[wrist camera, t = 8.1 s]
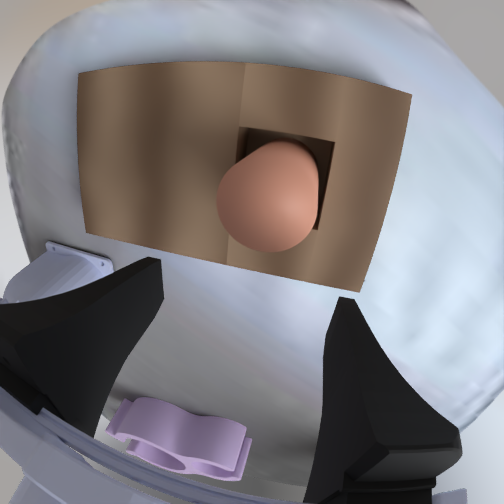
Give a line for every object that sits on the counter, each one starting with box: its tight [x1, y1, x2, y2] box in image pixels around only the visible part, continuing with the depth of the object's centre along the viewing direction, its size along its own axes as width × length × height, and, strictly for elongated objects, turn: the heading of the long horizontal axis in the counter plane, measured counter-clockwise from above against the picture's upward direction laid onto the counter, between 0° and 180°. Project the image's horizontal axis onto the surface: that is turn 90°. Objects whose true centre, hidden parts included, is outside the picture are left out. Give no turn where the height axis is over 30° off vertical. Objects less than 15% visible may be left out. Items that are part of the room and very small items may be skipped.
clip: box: [105, 397, 252, 481], centre depth 35 cm, size 20×12×7 cm, turn 102°
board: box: [77, 61, 412, 293], centre depth 17 cm, size 20×12×3 cm, turn 84°
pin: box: [216, 138, 319, 252], centre depth 14 cm, size 4×4×7 cm
